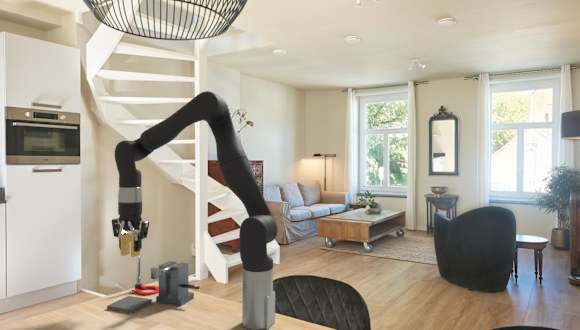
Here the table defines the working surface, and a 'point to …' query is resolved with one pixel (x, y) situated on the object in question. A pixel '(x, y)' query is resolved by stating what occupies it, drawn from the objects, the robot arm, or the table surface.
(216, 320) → the table surface
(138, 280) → the tow hook
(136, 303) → the rubber mat
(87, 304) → the table surface
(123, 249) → the ochre slotted block
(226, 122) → the robot arm
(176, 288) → the vise
